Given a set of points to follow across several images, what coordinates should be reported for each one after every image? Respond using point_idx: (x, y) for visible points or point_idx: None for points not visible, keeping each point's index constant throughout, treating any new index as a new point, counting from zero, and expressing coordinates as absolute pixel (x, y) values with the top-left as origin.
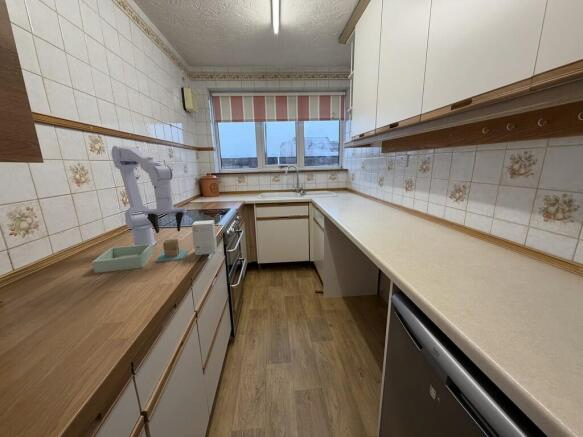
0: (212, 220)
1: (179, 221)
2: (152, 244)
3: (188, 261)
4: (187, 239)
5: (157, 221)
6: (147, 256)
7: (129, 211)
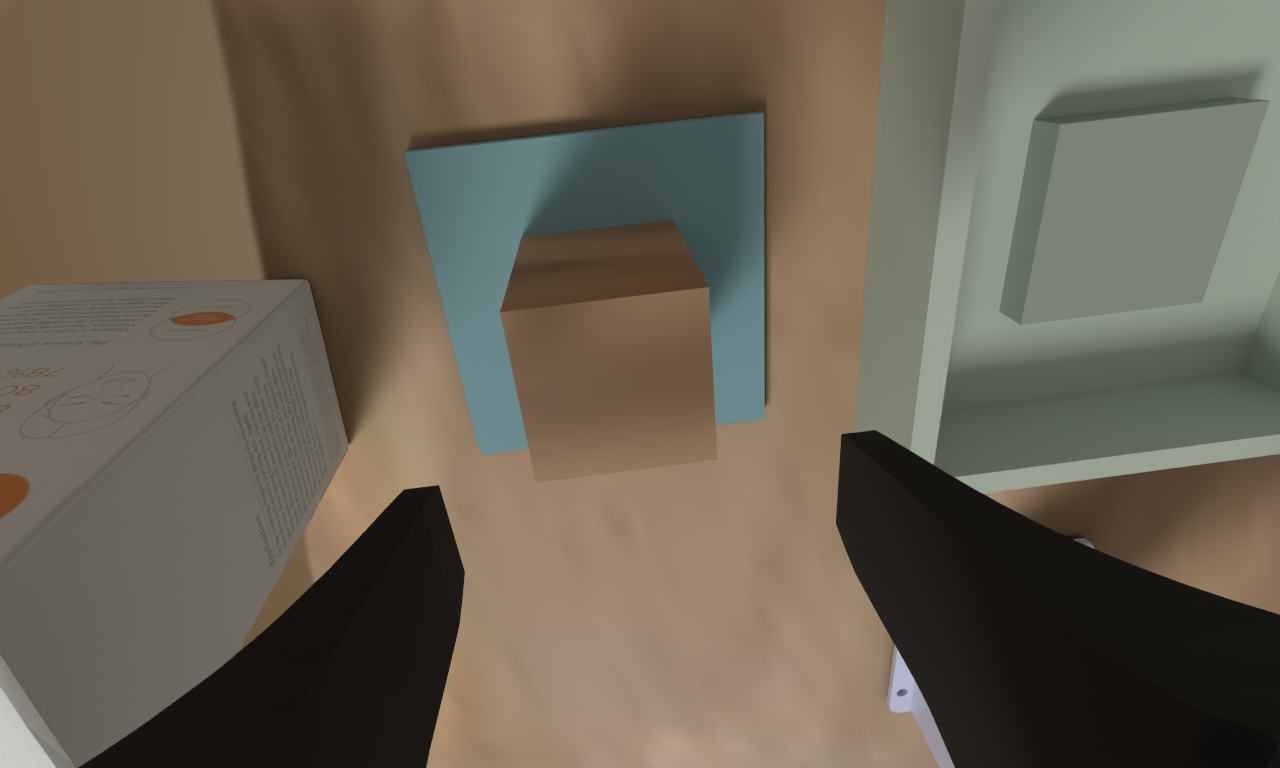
0: None
1: (227, 675)
2: None
3: (303, 49)
4: (606, 737)
5: (960, 734)
6: (893, 225)
7: None
